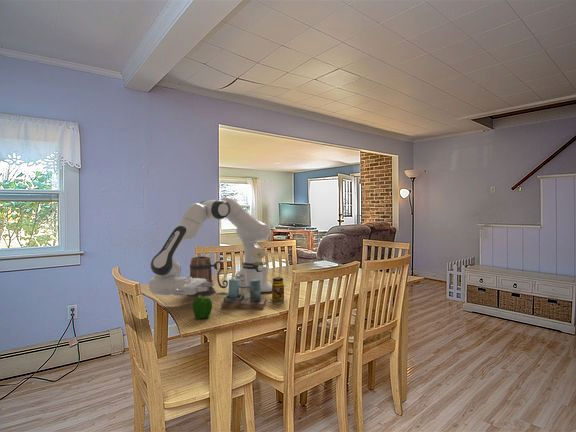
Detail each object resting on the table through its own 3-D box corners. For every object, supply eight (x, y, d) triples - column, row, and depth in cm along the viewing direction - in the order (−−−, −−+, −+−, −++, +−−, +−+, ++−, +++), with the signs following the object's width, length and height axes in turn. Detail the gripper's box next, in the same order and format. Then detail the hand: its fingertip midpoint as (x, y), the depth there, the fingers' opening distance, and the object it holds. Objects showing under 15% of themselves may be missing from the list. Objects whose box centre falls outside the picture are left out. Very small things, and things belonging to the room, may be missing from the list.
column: (226, 300, 162) (226, 280, 162) (234, 298, 166) (234, 278, 166) (233, 302, 159) (233, 281, 159) (241, 300, 163) (241, 279, 163)
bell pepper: (204, 313, 150) (204, 291, 150) (215, 317, 145) (215, 294, 145) (188, 318, 144) (187, 295, 143) (199, 322, 138) (199, 298, 138)
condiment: (280, 304, 165) (280, 280, 165) (265, 301, 169) (265, 278, 169) (287, 300, 171) (287, 277, 171) (273, 298, 175) (273, 275, 175)
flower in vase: (275, 289, 196) (275, 246, 196) (273, 294, 185) (272, 249, 185) (254, 288, 198) (253, 246, 197) (249, 293, 186) (249, 248, 186)
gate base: (221, 308, 158) (221, 282, 158) (226, 302, 168) (226, 277, 168) (263, 309, 156) (263, 282, 156) (266, 303, 166) (266, 278, 166)
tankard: (182, 297, 179) (182, 260, 179) (187, 289, 196) (187, 255, 195) (227, 295, 182) (227, 259, 182) (228, 288, 199) (228, 255, 199)
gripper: (173, 284, 154) (203, 284, 153) (190, 276, 174) (216, 276, 173) (174, 298, 154) (203, 298, 153) (190, 288, 174) (216, 288, 173)
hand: (210, 286), depth 163 cm, fingers open, 8 cm apart
